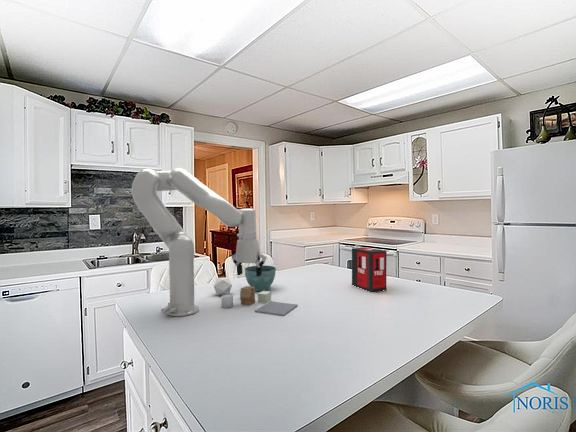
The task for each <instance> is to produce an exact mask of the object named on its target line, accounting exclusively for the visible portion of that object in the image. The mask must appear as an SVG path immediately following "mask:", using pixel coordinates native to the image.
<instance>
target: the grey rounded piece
mask: <svg viewBox="0 0 576 432" xmlns="http://www.w3.org/2000/svg"><path fill="white" fill-rule="evenodd" d="M220 296H221V301H220V302H221V308H223V309H232V308H233V307H234V295H233V294H229V295H220Z"/></svg>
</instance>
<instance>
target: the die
mask: <svg viewBox="0 0 576 432" xmlns="http://www.w3.org/2000/svg"><path fill="white" fill-rule="evenodd" d="M232 287H233V286H232V283H231V281H230V278H229V277H227V276H226V277H225V276H224V277H217V278H216V280H215V282H214V285H213V288H214V291H215V294H216V296H217V297H218V296H223V295H230V292H231V289H232Z"/></svg>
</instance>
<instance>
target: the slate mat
mask: <svg viewBox="0 0 576 432" xmlns="http://www.w3.org/2000/svg"><path fill="white" fill-rule="evenodd" d="M297 307H298V304H296V303H288V302H287V303H286V302H278V301H273V300H271V301H269V302H267V303H264V304H263V305H261V306H260V307H258V308H257V309H255V310H254V312H255V313H257V314H258V313H259V314H266V315H272V316H273V315H274V316H279V317H280V316H281V317H285V316H286V315H287V314H289V313H290V312H292V311H293V310H294V309H295V308H297Z"/></svg>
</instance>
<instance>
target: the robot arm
mask: <svg viewBox="0 0 576 432" xmlns="http://www.w3.org/2000/svg"><path fill="white" fill-rule="evenodd" d="M165 191H166V192H167V191H178V192H179V193H180V194H181V195H183V196H184V197H186V198H187V199H188V200H190V201H191V202H192V203H194V204H195V205H196V206H198V207H199V208H201V209H203V210H206V211H208V212H210V213H211V214H213V215H214V216H215V217H217V218H218V219H219V221H220V223H221V224H222V225H224V226H227V227H230V228H235V227H238V233H237V234H236V237H237V238H238V239H237V241H236V247H235V248H236V249H235V251H236V252H235V253H234V254H232V255H231V256H230V257H231V259H232V262H233V264H234V265H235V267H236V273H237V276H241V275H242V274H243V265H242V264H255V266H257V268H256V275H257V277H259V276H261V274H262V266H263V265H265V263H266V260H267V259H268V258H267V255H265V254H263V253H261V250H260V242H259V240H258V239H257V217H256V210H255V209H254V208H251V207H250V208H247V207H246V208H240V209H237V208H236V207H235V206H234V205H232V204H231V203H230V202H228V201H227V200H226V199H225V198H223V197H221V196H220V195H218V194H217V193H216V191H214V190H212V189H210V188H209V187H208V186H207V185H205V184H204V183H203V182H202V181H200V180H199V179H198V178H197V177H195V176H194V175H193V174H192V173H190V172H189V170H186V169H185V168H183V167H176V168H173V169H171V170H155V169H153V168H142V169H140V170H139V171H138V172H137V173H136V175H135V177H134V178H133V181H132V184H131V196H132V198H133V202H134V203H135V205H136V207H137V208H138V210H139V211H140V212H141V214H142V215H143V217H144V218H145V220H146V221H147V222H148V224H149V225H150V226H151V227H152V229H153V231H154V233H156V234H157V235H158V237H159V238H160V239H161V240H162V242H163V243H164V245H166V247H167V248H168V268H169V269H168V270H169V272H168V274H169V302H168V303H167V306H164V307H162V308H161V309H160V312H161V314H166V315H167V316H170V317H184V316H190V315H193V314H195V313H197V312H199V306H198V305H196V304H195V244H194V240H193V239H192V238H191V237H190V236H189V235H188V234H187V232H185V230H184V229H183V228H182V226H181V225H180V223H179V222H178V221H177V219H176V217H175V216H174V215H173V214H172V213H171V212H170V210H168V208H167V207H166V206H165V204H164V203H163V201H162V200H161V198H160V197H159V196H158V194H157V192H165Z"/></svg>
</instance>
